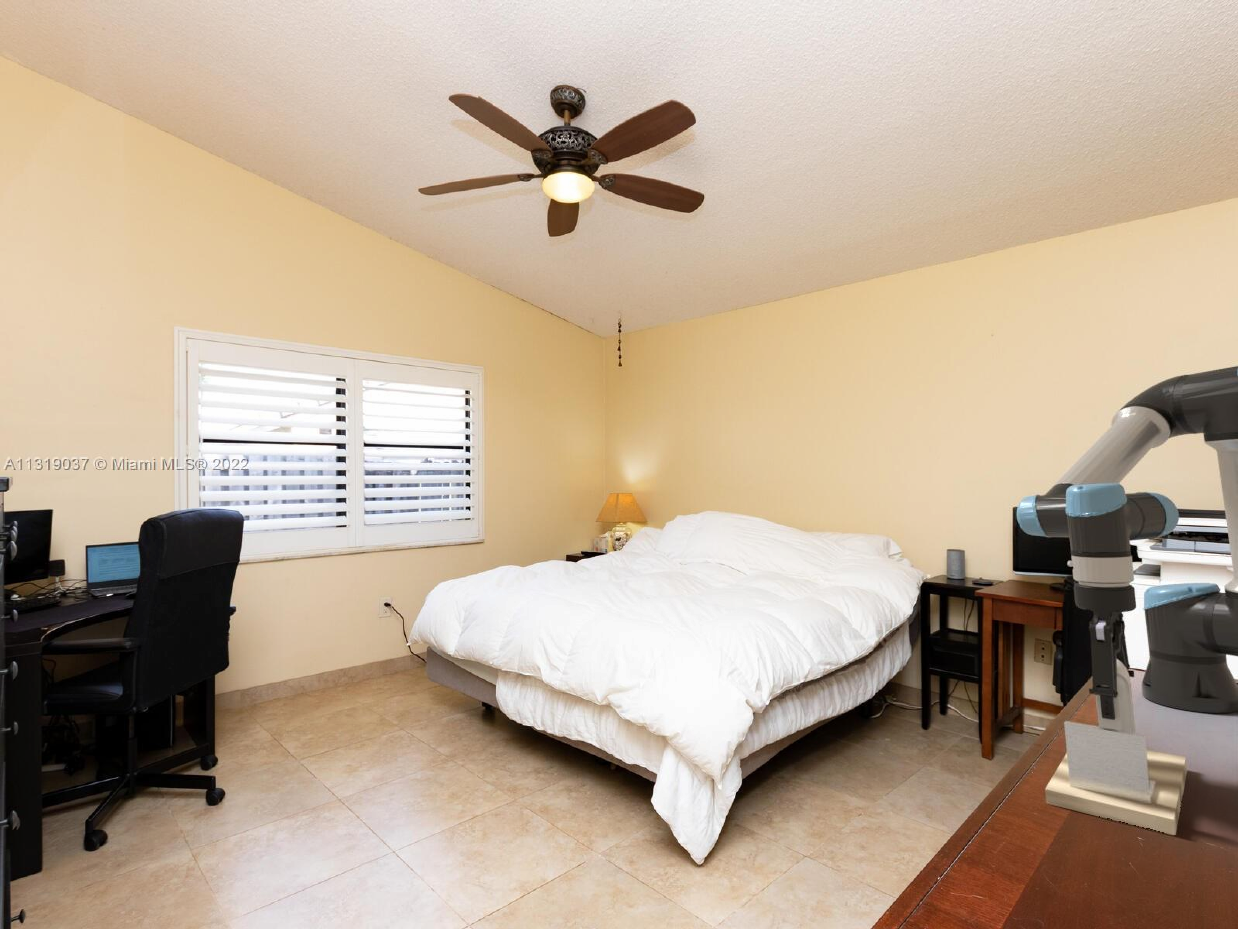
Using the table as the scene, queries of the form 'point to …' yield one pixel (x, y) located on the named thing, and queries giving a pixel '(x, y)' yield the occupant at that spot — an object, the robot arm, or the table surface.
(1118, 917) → the table surface
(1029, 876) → the table surface
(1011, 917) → the table surface
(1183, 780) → the shelf board
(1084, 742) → the bookend
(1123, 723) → the photo printer
